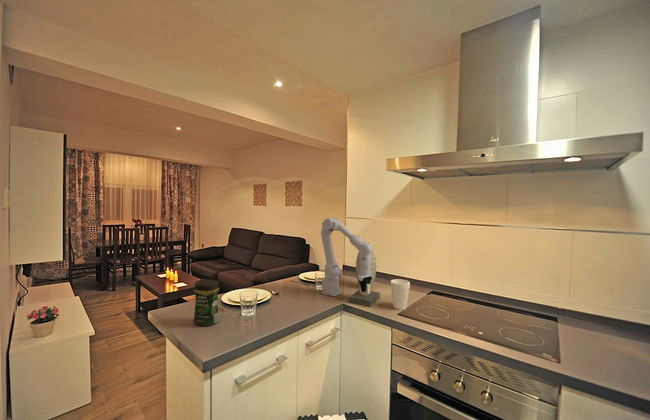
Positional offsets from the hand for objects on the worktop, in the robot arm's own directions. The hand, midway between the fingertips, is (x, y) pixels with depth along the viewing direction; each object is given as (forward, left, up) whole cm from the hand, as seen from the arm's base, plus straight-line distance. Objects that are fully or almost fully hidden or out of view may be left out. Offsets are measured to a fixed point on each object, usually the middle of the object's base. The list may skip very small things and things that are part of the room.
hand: (364, 290), depth 146 cm
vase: (-8, +22, -5) cm, 24 cm away
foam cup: (+19, 0, -5) cm, 20 cm away
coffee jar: (-48, -63, -5) cm, 79 cm away
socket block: (0, 0, -5) cm, 5 cm away
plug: (0, 0, -4) cm, 5 cm away
